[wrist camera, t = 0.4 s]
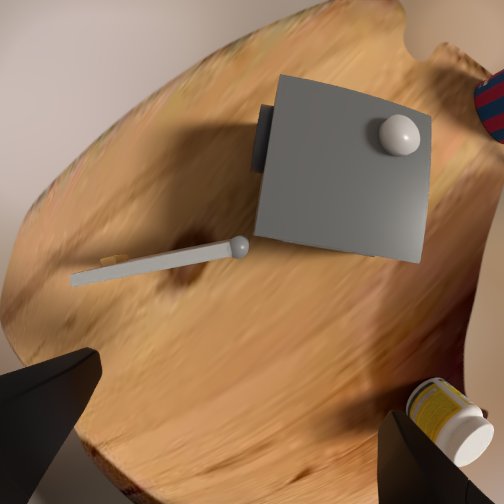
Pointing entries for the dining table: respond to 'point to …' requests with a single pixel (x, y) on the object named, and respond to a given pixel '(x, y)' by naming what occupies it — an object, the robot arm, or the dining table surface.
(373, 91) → the dining table surface
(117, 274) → the side door
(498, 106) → the mug
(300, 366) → the dining table surface
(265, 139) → the camera body
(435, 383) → the supplement bottle
